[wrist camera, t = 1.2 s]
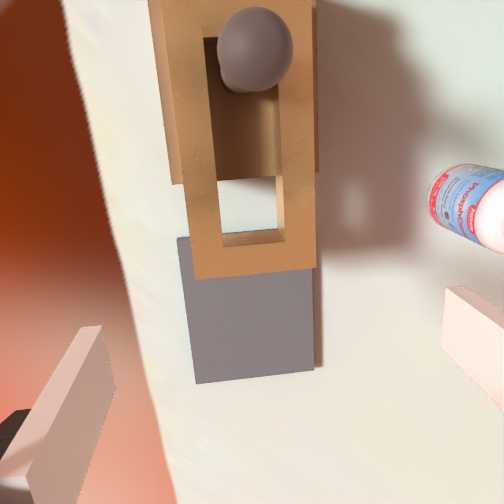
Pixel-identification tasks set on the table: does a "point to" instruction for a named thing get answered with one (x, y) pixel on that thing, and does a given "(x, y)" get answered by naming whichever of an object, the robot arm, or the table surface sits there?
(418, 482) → the table surface
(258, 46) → the walnut stand
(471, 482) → the table surface
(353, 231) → the table surface
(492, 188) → the pill bottle
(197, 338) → the rubber mat
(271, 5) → the golden brown rectangular frame
